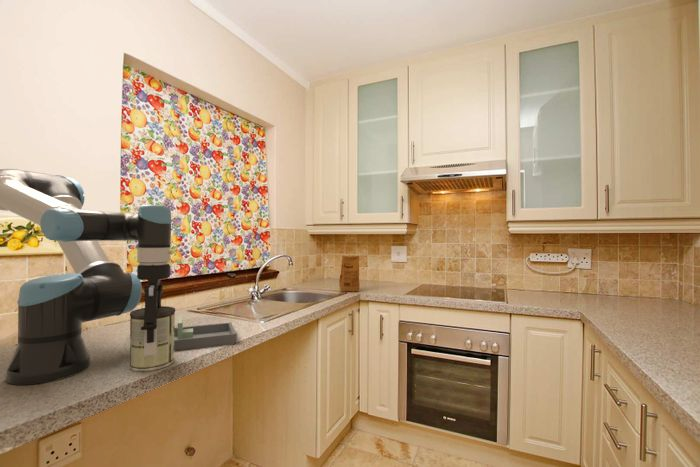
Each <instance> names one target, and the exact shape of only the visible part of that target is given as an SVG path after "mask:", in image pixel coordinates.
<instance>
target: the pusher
mask: <svg viewBox="0 0 700 467" xmlns="http://www.w3.org/2000/svg"><path fill="white" fill-rule="evenodd" d="M177 327H178V339H185V338H193V328H192V329H183V327H184V314H183V313H182V314H181V313H180V314H178V321H177Z"/></svg>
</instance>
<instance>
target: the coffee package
mask: <svg viewBox="0 0 700 467" xmlns="http://www.w3.org/2000/svg"><path fill="white" fill-rule="evenodd" d="M341 258H342V260H341V266H340V276H339V291H340V290H341V291H358V292H360V256H359V255H355V256H353V255H352V256H349V255H342V257H341ZM341 291H340V292H341Z"/></svg>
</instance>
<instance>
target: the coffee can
mask: <svg viewBox="0 0 700 467" xmlns="http://www.w3.org/2000/svg"><path fill="white" fill-rule="evenodd" d="M175 312H176V308H175V307H173V306H167V305H165V306H164V305H161V306H160V307H159V308H158V309H157V354H156V355H147V356H144V330H141V327H143V326H144V313H145V307H141V308H138V309H134V310H132V311H130V312H129V317H130V320H129V321H130V322H129V323H130V324H129V325H130V326H129V327H130V328H129V329H130V330H129V333H130V334H129V339H130V340H129V369H130V370H131V371H134V372H150V371H155V370H160V369H163V368H167V367H169V366H170V365H173V363H174V362H175V351H174V328H175V315H176V314H175ZM148 324H150V323H148Z"/></svg>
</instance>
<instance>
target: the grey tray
mask: <svg viewBox="0 0 700 467" xmlns="http://www.w3.org/2000/svg"><path fill="white" fill-rule="evenodd" d="M192 328H193V338H185V339H178V326H177V327H174V352H176V351H182V350H183V351H185V350H193V349H200V348H201V349H202V348H209V347H217V346H225V345H233V344H237V333H236V331H235V328H234V325H233V322H222V323H211V324H210V323H209V324H208V323H207V324H201V325H200V324H198V325H197V324H196V325H187V326H183V329H192Z"/></svg>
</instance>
